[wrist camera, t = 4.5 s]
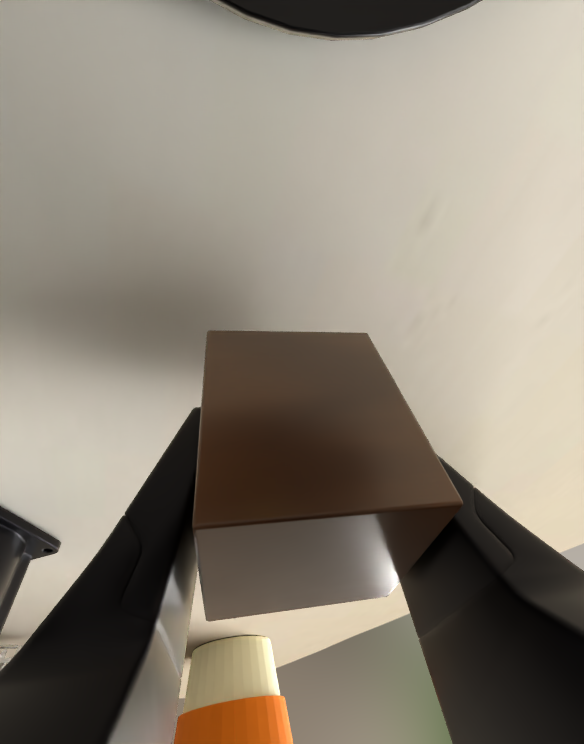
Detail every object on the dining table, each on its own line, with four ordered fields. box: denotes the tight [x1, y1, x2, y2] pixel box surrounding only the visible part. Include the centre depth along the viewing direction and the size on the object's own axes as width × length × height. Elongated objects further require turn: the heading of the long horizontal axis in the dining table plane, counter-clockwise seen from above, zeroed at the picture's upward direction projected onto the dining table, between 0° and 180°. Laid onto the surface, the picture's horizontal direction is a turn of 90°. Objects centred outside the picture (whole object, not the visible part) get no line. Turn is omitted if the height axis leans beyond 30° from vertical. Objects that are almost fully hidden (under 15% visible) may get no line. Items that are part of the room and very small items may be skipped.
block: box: [192, 330, 463, 621], centre depth 9 cm, size 4×4×5 cm
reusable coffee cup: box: [174, 636, 293, 744], centre depth 34 cm, size 13×13×15 cm
